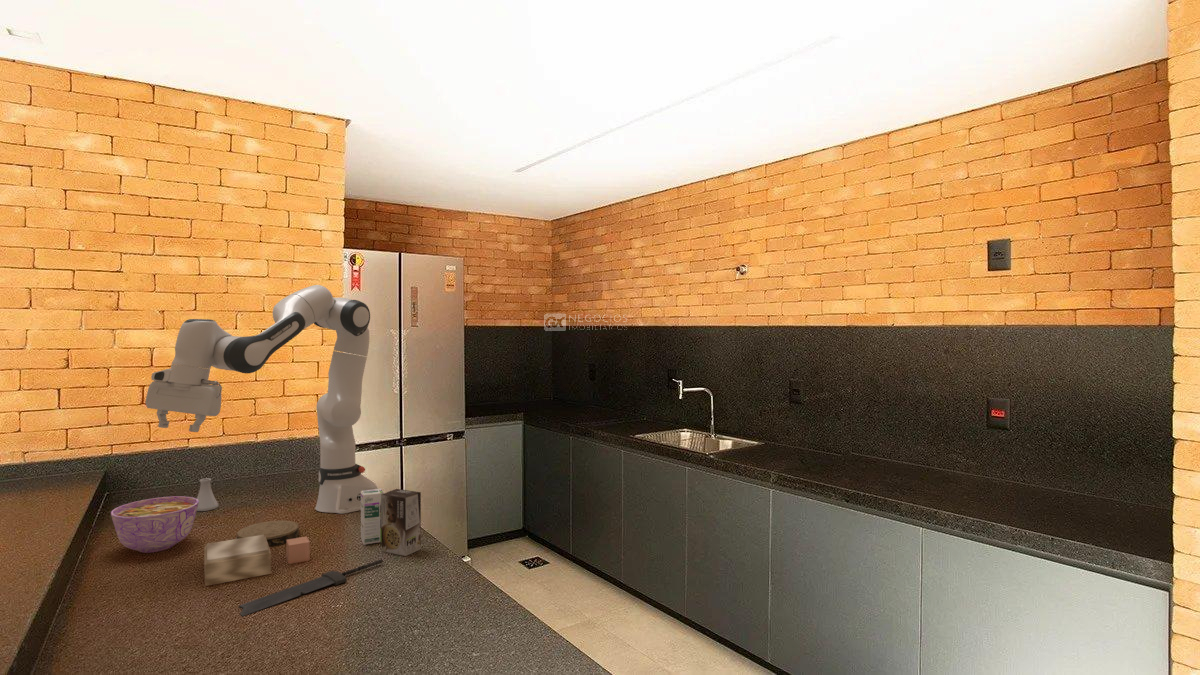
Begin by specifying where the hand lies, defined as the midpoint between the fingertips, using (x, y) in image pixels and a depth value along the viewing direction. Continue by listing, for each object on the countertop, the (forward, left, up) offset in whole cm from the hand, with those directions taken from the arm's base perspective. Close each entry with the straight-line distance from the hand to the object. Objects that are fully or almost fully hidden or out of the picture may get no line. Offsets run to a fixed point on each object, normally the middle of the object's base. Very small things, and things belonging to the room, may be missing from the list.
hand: (178, 429), depth 163 cm
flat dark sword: (-28, +37, -35) cm, 58 cm away
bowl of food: (+5, -14, -35) cm, 38 cm away
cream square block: (-13, +16, -35) cm, 40 cm away
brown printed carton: (-52, +24, -35) cm, 67 cm away
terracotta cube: (-27, +16, -35) cm, 46 cm away
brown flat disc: (-22, -6, -35) cm, 42 cm away
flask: (-7, -49, -35) cm, 60 cm away
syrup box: (-47, +12, -35) cm, 59 cm away
